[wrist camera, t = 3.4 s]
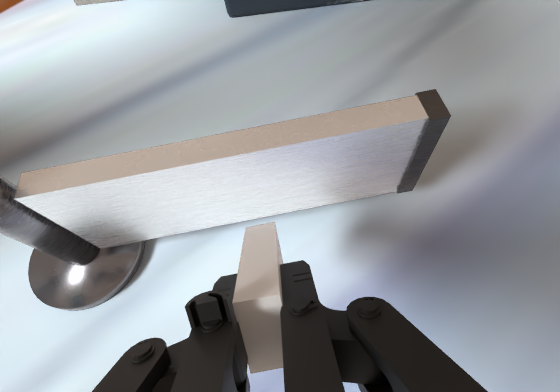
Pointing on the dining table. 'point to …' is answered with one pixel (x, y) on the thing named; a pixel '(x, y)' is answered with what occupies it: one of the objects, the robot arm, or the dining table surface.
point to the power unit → (274, 5)
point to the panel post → (66, 258)
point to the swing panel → (241, 173)
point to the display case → (91, 1)
